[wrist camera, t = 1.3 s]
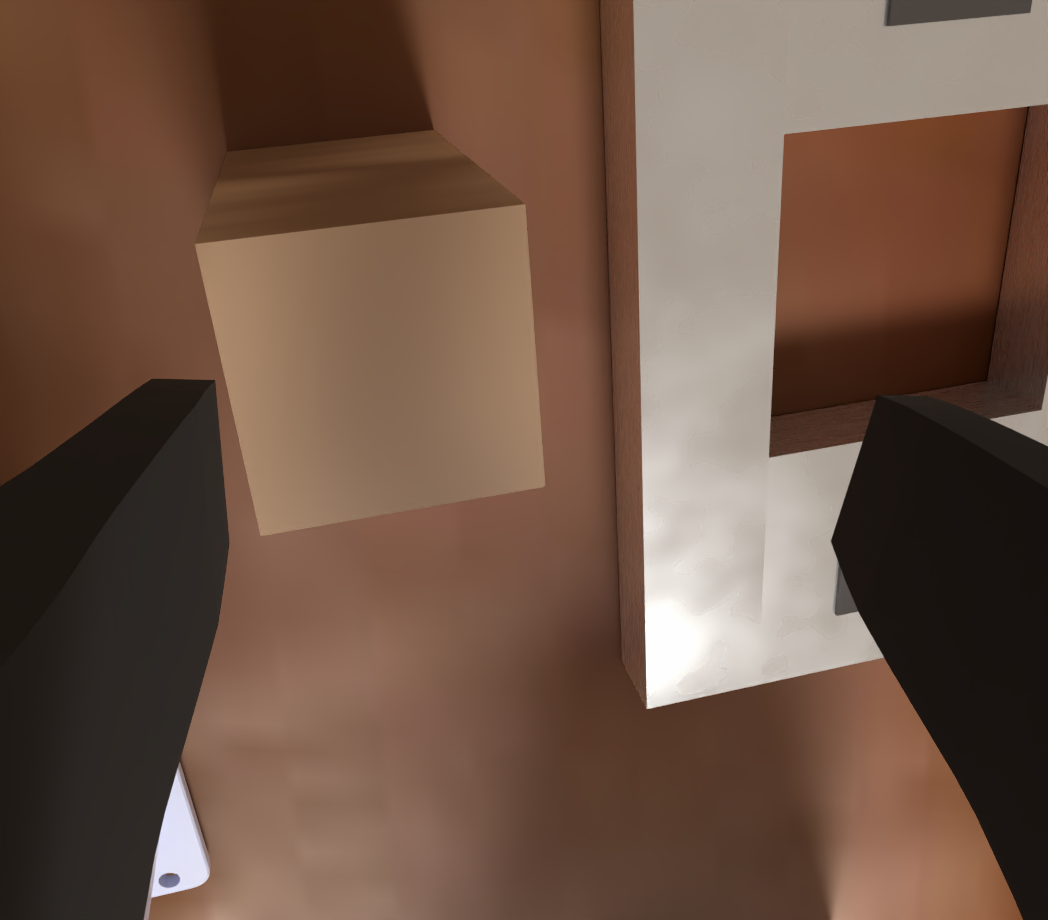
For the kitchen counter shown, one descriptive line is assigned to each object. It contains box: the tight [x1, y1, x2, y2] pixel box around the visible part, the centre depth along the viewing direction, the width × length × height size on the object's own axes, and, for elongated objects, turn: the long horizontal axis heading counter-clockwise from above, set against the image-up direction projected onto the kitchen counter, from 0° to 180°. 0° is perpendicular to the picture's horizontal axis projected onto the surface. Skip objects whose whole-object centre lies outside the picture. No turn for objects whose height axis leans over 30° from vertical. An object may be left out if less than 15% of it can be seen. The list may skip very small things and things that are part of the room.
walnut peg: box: [195, 130, 545, 536], centre depth 16 cm, size 4×4×8 cm
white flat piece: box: [600, 0, 1048, 709], centre depth 21 cm, size 13×20×2 cm, turn 4°
